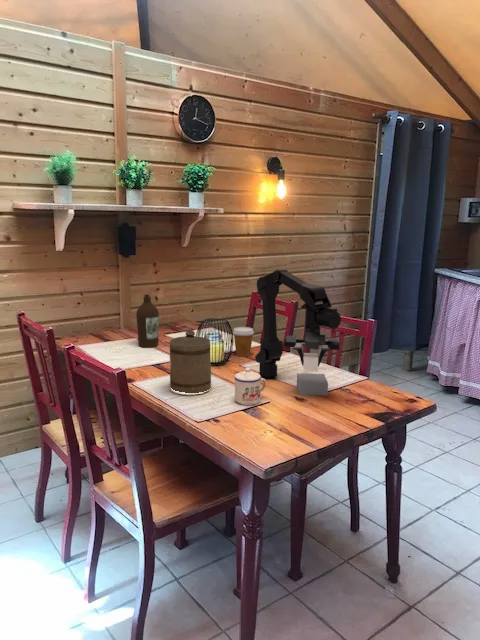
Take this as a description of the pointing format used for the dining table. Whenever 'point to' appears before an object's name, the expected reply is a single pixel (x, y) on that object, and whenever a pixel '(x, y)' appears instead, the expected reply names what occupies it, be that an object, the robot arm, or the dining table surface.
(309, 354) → the cream cube
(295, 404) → the dining table surface
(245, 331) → the disposable coffee cup
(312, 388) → the gray square block
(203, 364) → the wooden container
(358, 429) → the dining table surface
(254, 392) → the teacup with lid
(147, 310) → the olive oil
